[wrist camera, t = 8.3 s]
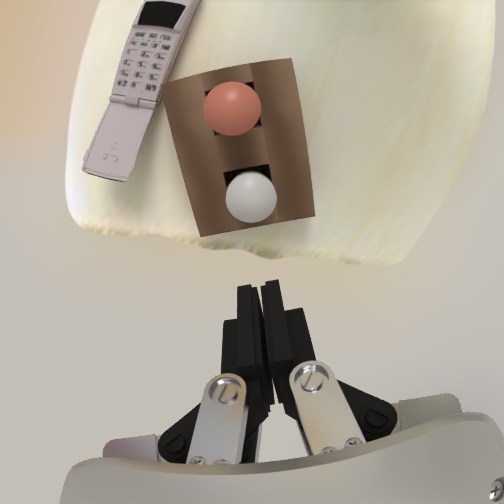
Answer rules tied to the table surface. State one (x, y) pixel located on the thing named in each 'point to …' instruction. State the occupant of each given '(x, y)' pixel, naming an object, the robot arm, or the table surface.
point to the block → (241, 144)
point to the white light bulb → (250, 195)
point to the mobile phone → (138, 86)
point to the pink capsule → (232, 108)
